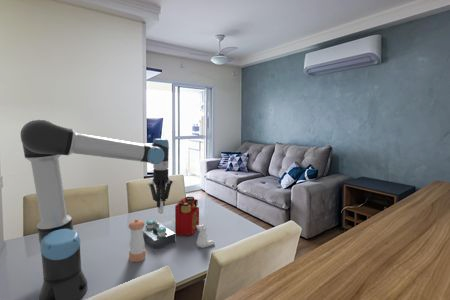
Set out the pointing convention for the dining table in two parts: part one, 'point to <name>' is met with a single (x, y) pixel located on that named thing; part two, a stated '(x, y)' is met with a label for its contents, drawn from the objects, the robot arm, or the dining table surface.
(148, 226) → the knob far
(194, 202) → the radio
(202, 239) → the sitting furry creature
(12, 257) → the dining table surface
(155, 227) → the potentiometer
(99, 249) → the dining table surface
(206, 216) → the dining table surface
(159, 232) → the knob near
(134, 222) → the salt shaker
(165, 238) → the mount
